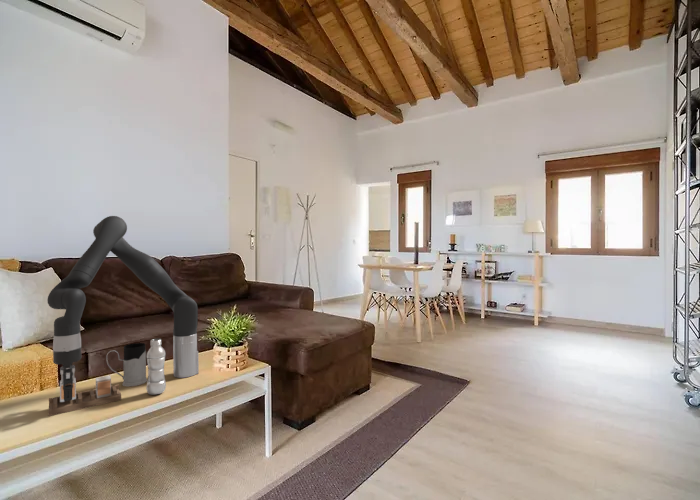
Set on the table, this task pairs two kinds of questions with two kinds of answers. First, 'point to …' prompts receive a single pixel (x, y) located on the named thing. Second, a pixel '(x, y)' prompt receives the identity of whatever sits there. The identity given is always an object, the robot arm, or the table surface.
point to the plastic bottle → (156, 368)
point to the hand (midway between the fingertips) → (68, 397)
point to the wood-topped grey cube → (72, 390)
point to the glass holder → (133, 364)
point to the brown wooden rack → (87, 397)
